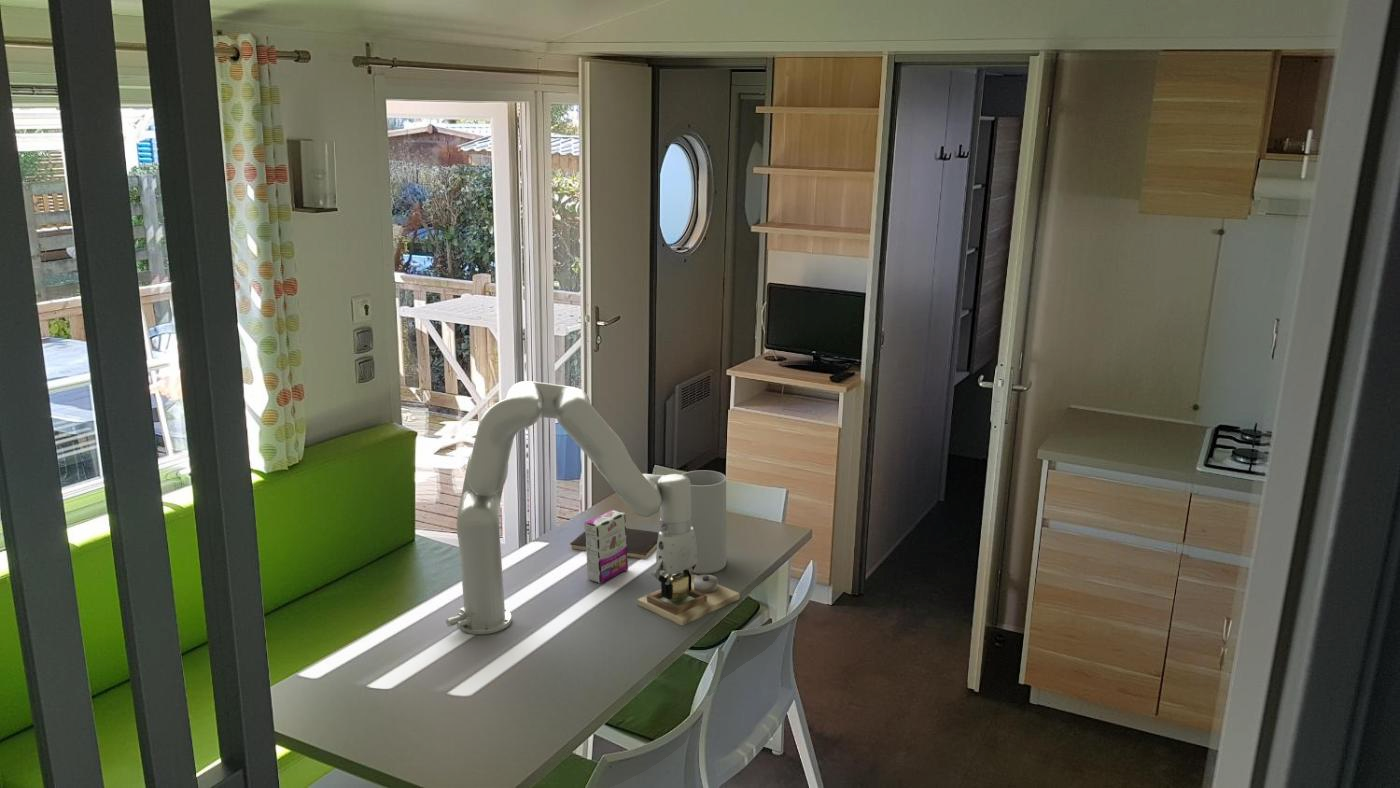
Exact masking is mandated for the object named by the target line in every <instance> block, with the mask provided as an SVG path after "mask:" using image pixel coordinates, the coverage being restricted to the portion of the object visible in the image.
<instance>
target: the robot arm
mask: <svg viewBox="0 0 1400 788" xmlns="http://www.w3.org/2000/svg"><path fill="white" fill-rule="evenodd" d="M541 418H547V419H556V420H557V422H558V424H559V425H560V426H561V428H562V430H564V432H565V433H566V434H567V435H568V436H569V437H570V438H571V439H572V440H573V441H574V442H575V444H576V445H577V446H578V447H579V448H580V449H581V451H582V452H583V453H584V454H585V455H586V456H587V457H588V458H589V460H590V461H591V462H592V463H593V465H594V466H595V467H596V469H597V471H598V472H599V473H600V474H601V476H603V477H604V479H605V480H606V481H607V483H608V484H609V485H610V487H611V488H612V489H613V491H614V492H615V493H616V494H617V495H618V496H619V498H620V499H621V500H622V501H623V502H624V503H625V505H626V506H627V507H628V508H629V509H630V510H631V511H632V512H633V513H634V514H635V515H637V516H640V517H642V518H649V517H652V516H654V515H655V514H657V513H658V512H659V526H657V530H658V532H659V534H658V540H657V548H656V549H655V550H656V552H655V553H656V556H655V563H656V564H655V566H654V567H653V569H652V571H651V576H652V577H654V578H655V579H656V580H658V582H660V589H661V595H662V596H663V597H665V598H667V599H669V600H670V599H672V584H670V580H671V576H672V575H673V574H676V573H679V572H682V573H685V574H687V575H688V577H689V591H691V589H692V588H691V576H693V575H694V573H693V570H694V568H695V566H696V563H697V562H698V560H699V558H700V555H699V554H698V553H697V545H696V538H695V533H694V529H693V527H691V490H690V480H689V478H688V477H687V476H685V475H682V474H683V473H669V474H666V475H663V474H653V473H642V472H641V471H640V469H639V467H638V466H637V465H636V463H635V462H634V461H633V459H632V457H631V455H630V454H629V452H628V450H627V448H626V445H625V444H624V442H623V441H622V439H621V438H620V436H619V435H618V434H617V433H616V432H615V431H614V429H613V428H612V427H610V425H609V423H608V422H606V420H605V419H604V418H603V417H602V415H600V413H599V412H598V411H597V410H596V409H595V408H594V406H593V405H592V404H591V399H590V397H589V396H588V394H587V393H586V392H585V391H584V390H583V389H581V388H578V387H575V386H569V385H568V386H567V385H564V384H563V385H562V384H555V383H547V382H541V381H540V382H539V381H532V380H524V381H518V382H516V383H515V384H513V385H512V386H511V387H510V388H509V389H508V391H507V394H506V398H505V399H502V400H500V401H498V402H496V403H494V404H493V405H492V406H490V407H489V408H488V409H487V410H486V411H485V412H484V414H483V415H482V416H481V417H480V420H479V423H478V425H477V426H478V427H477V430H476V436H475V438H474V443H473V448H472V452H471V454H470V455H469V456H468V460H467V465H466V470H465V475H464V480H463V485H462V490H461V494H460V495H461V496H460V501H459V506H458V509H457V516H456V534H457V541H458V549H459V560H460V561H459V563H460V571H461V584H462V595H463V596H462V598H463V599H462V600H463V607H460V608H459V613H457V614H456V616H451V617H449V618H447V619H446V620H445V623H446V626H447V627H448V628H450V627H452V626H455V625H457V628H458V629H460V630H461V631H463V632H464V633H467V634H470V635H471V634H472V635H490V634H494V633H498V632H500V631H503V630H504V629H506V628H507V627H509V626H510V625H511V623H512V621H513V615H512V613H511V611H509V610H508V609H506V608H505V594H504V579H503V564H502V563H503V562H502V561H503V560H502V549H501V537H500V509H501V508H500V507H501V502H502V496H503V491H504V486H505V483H506V482H507V478H508V474H509V473H508V472H509V460H510V455H511V451H512V447H513V444H514V438H515V437H516V435H517V434H518V433H519V432H520V431H521V430H524V429H526V428H529V427H532V426H533V425H535V424H536V423H537V422H539V420H540V419H541ZM666 574H667V576H666V578H665V575H666Z"/></svg>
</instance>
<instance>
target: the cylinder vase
mask: <svg viewBox="0 0 1400 788" xmlns="http://www.w3.org/2000/svg"><path fill="white" fill-rule="evenodd" d="M681 474H682V475H685V476H687V477H688V478H689V480H690V490H691V527H693V529H694V533H695V538H696V545H697V553H698V554H699V555H700V558H699V560H698V562H697V563H696V566H695V568H694V570H693V574H696V575H697V574H699V575H710V574H715V573H717V572H720V571H721V570H723V569H724V568H725V567H726V565H727V560H728V559H727V476H726V475H725V474H724V473H722V472H719V471H715V470H705V469H704V470H703V469H702V470H701V469H700V470H691V471H687V472H684V473H681Z"/></svg>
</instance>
